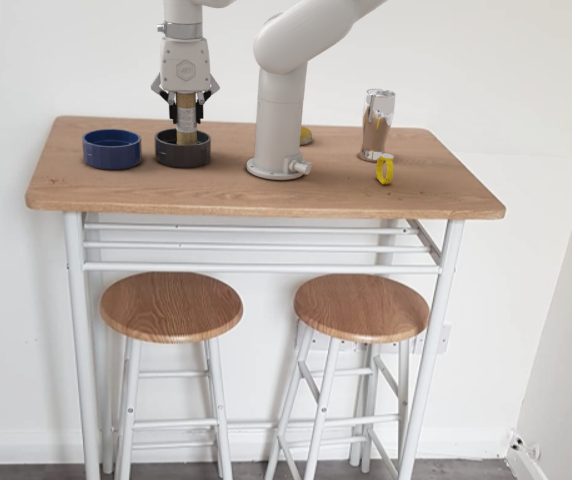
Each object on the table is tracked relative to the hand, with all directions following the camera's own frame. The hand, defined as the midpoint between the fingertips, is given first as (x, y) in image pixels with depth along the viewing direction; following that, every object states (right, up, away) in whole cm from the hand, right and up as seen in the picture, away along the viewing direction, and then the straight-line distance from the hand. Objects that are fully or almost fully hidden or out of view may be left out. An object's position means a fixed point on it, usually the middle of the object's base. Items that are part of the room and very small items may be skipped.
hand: (186, 121), depth 151 cm
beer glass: (+41, -4, +15) cm, 44 cm away
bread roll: (+23, +1, +22) cm, 32 cm away
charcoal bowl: (-1, -7, +4) cm, 8 cm away
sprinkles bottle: (0, -5, +3) cm, 5 cm away
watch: (+42, -13, +2) cm, 44 cm away
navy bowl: (-16, -8, 0) cm, 18 cm away
